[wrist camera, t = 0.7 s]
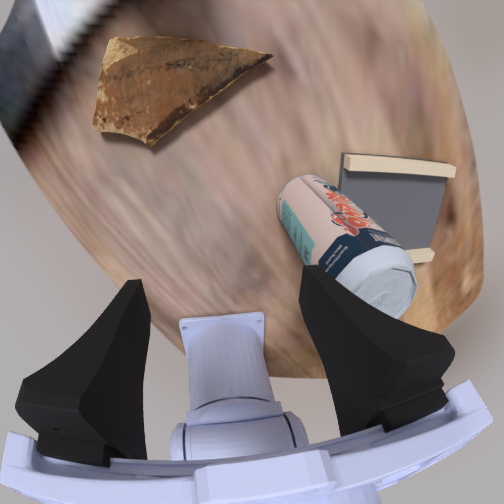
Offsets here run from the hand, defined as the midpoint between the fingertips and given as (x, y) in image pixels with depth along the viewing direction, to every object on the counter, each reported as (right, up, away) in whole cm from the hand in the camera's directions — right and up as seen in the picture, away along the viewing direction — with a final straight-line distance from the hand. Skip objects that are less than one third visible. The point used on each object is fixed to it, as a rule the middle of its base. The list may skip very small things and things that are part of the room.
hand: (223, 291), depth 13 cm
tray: (+14, +5, +12) cm, 19 cm away
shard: (-5, +14, +4) cm, 15 cm away
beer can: (+5, +6, +10) cm, 13 cm away
